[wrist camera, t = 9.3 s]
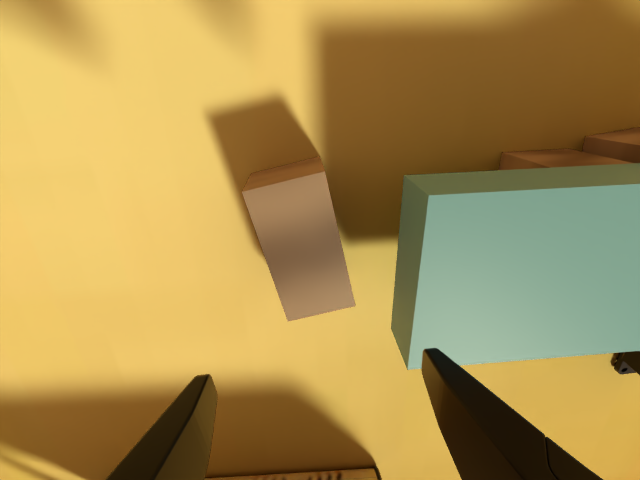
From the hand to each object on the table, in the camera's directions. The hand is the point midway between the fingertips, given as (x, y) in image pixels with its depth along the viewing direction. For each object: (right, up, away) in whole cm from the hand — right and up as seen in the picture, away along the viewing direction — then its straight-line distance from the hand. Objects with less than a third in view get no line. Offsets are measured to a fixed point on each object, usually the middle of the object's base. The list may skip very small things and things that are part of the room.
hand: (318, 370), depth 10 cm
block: (-1, +5, +10) cm, 11 cm away
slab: (+13, +4, +7) cm, 15 cm away
